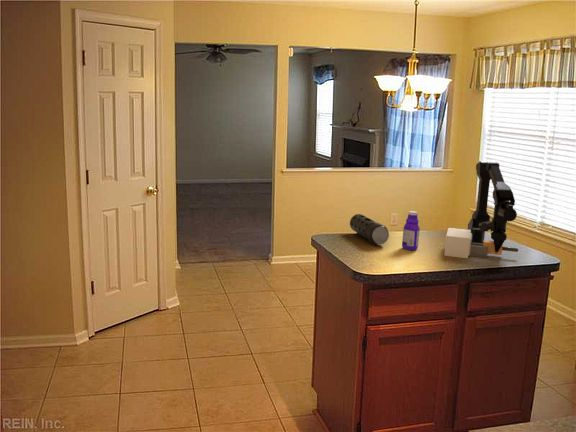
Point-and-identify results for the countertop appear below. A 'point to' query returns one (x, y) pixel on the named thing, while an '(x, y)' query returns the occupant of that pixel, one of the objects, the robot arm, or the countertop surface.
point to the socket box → (463, 244)
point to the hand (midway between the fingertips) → (496, 251)
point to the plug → (492, 248)
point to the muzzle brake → (369, 229)
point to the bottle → (411, 232)
